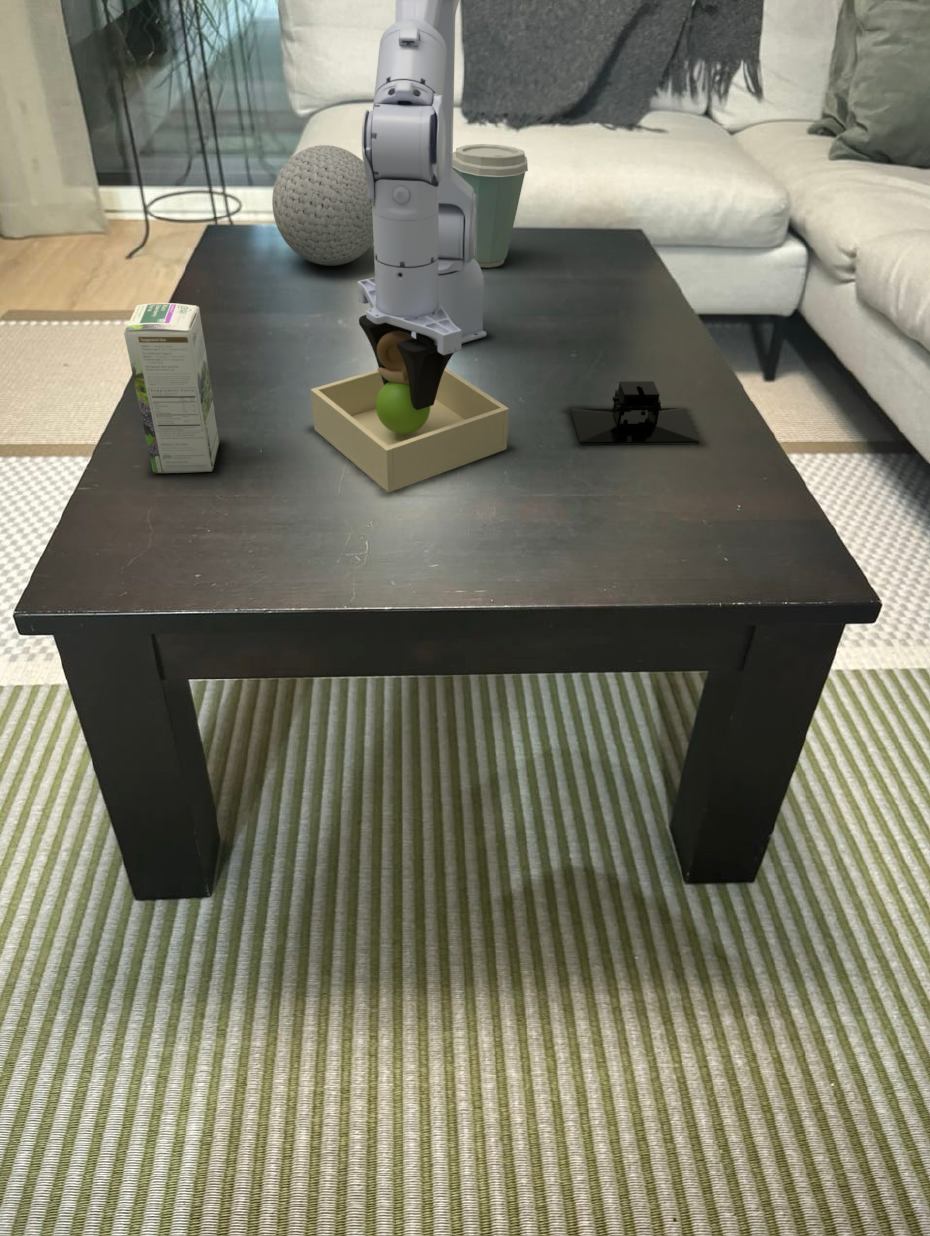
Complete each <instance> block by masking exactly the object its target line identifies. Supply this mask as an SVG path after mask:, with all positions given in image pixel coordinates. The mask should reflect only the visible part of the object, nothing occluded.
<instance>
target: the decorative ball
mask: <svg viewBox="0 0 930 1236" xmlns="http://www.w3.org/2000/svg"><path fill="white" fill-rule="evenodd" d="M271 201H272V202H271V204H272V214H273V219H274V221H275V225H276V227H277V230H278V232H279V234H280V236H281V237H282V239H283V240H284V242H285V243H286V245H287V246H288V247H289V248H290V249H292V251H293V252H294V253H296V254H297V255H298V256H300V257H301V258H303V259H305V260H306V261H308V262H311V263H313V264H317V265H321V266H327V267H329V266H330V267H332V266H333V267H334V266H335V267H336V266H342V265H345V264H348V263H351V262H354V261H355V260H357V259H359V258H360V257H362V256H363V255H364V254H365V253H367V252H368V251H369V249H370V248H371V247H372V245H374V241H373V216H372V209H373V208H372V204H369V200H368V189H367V179H366V174H365V169H364V164H363V159H361V158H360V157H359V156H357V155H356V154H354V153H353V152H351V151H349V150H347V149H345V148H342V147H339V146H335V145H329V144H322V145H321V144H320V145H314V146H310V147H307V148H305V149H302V150H301V151H299V152H297V153H296V154H294V155H292V156H291V158H289V159H288V160H287V161H286V163H285V164H284V165H282V167H281V169H280V171H279V172H278V174H277V177H276V179H275V182H274V186H273V190H272V199H271Z"/></svg>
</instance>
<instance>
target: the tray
mask: <svg viewBox="0 0 930 1236" xmlns="http://www.w3.org/2000/svg"><path fill="white" fill-rule="evenodd" d="M383 386H384V383H383V380H382V377H381V374H380V373H379V372H378V370H377V369H375V370H371V371H367V372H364V373H361V374H357V375H354V376H350V377H348V378H344V379H340V380H337V381H334V382H331V383H326V384H323V385H320V386H317V387H313V388H310V396H311V397H310V398H311V408H312V418H313V428H314V431H315V432H317V433H318V434H319V435H320V436H321V437H322V438H323V439H324V440H326V441H327V442H328V443H330V444H331V445H332V446H333V447H334V448H335V449H336V450H337V451H339V452H340V453H341V454H342V455H343V456H345V457H346V459H348V460H349V461H350V462H352V464H354V465H355V466H356V467H358V469H360V470H361V472H363V473H364V474H366V475H367V476H368V477H369V478H370V479H371V480H373V481H374V482H375V483H376V484H377V485H378V486H379V487H380V488H382V489H383V490H384V491H385V492H387V493H392V492H394V491H397V490H400V489H402V488H405V487H408V486H411V485H413V484H415V483H416V484H417V483H419V482H421V481H424V480H427V479H429V478H432V477H435V476H439V475H440V474H443V473H446V472H449V471H451V470H454V469H456V468H460V467H462V466H465V465H468V464H470V463H473V462H475V461H478V460H482V459H485V458H486V457H489V456H492V455H494V454H498V453H500V452H503V451H505V450H507V447H508V445H507V444H508V431H509V414H510V407H507V406H506V405H504V404H502V403H501V402H500V401H499V400H497V399H495V398H493V397H492V396H491V395H489V394H488V393H486V392H485V391H483V390H482V389H480V388H479V387H477V386H475V385H474V384H472V383H471V382H469V381H468V380H467V379H465V378H463V377H461V375H459V374H458V373H455V371H453V370H451V368H448V367H446V368H445V370H444V372H443V375H442V377H441V380H440V384H439V387H438V391H437V394H436V398H435V402H434V405H432V406H430V414H429V417H428V419H427V421H426V422H425V424H424V425H423V426H422V427H421V428H420V429H418V430H416V431H414V432H412V433H408V434H400V433H395V432H393V431H391V430H389V429H388V428H386V427H385V426H384V425H383V424H382V422H381V421H380V419H379V417H378V415H377V411H376V400H377V396H378V394H379V392H380V390H381V389H382V387H383Z"/></svg>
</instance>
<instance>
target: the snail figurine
mask: <svg viewBox="0 0 930 1236" xmlns="http://www.w3.org/2000/svg"><path fill="white" fill-rule="evenodd" d="M409 339H413V337H412V336H411V335H409V334H407V333H405V332H401V331H393V332H389V333H387V334H385V335H384V336H383V337H382V338H381V339H380V340H379V343H378V346H377V355H378V358H379V361H380V362H381V363H382V365H383V366H384V367H385V368H386V369H385V368H381V367H377V369H376V370H378V372H379V373H380V374H381V375H382V376H383V377H384V378H385V379H386V380H388V381H389V382H388V383H386V384H385V385H384V386H383V387H382V389H381V390H380V392H379V394H378V396H377V400H376V411H377V415H378V417H379V419H380V421H381V422H382V424H383V425H384V426H385V427H386V428H388V429H389V430H391V431H393V432H395V433H400V434H408V433H412V432H414V431H416V430H418V429H420V428H421V427H422V426H423V425H424V424H425V422H426V421H427V419H428V417H429V414H430V406H429V407H426V408H423V409H420V410H416V409H415V408H413V405H412V402H411V397H410V389H409V379H408V374H407V370H406V366H405V363H404V360H403V358H402V356H401V354H400V352H399V350H398V348H397V343H399V342H402V341H406V340H409Z"/></svg>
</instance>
